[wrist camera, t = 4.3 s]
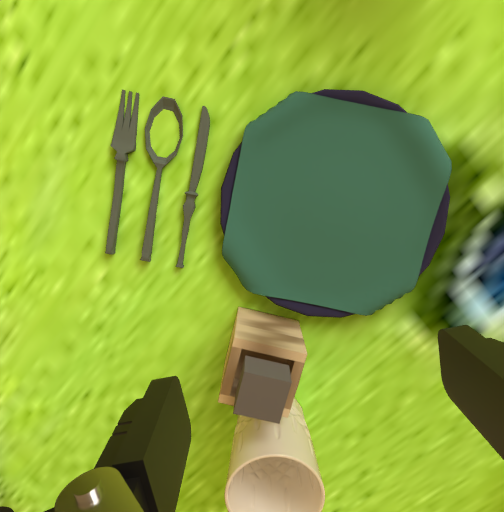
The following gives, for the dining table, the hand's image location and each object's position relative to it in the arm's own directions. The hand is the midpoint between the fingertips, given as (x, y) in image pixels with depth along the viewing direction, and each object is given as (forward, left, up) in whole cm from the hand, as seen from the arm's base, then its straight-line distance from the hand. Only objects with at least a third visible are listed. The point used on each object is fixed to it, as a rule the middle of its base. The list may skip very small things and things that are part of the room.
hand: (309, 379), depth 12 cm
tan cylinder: (-4, +19, -25) cm, 31 cm away
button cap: (-1, +11, -17) cm, 20 cm away
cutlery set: (+1, -3, -25) cm, 25 cm away
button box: (-1, +11, -24) cm, 27 cm away
